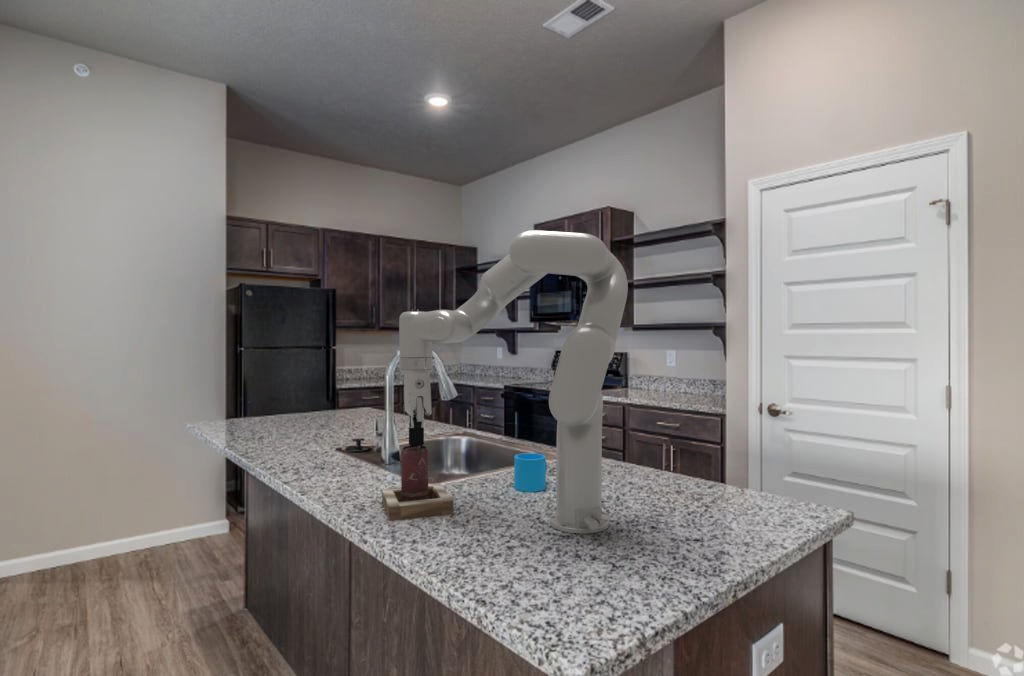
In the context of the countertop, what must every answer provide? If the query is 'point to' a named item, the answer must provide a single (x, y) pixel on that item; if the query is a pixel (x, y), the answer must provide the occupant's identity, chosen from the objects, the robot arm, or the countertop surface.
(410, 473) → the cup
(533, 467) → the mug
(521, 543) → the countertop surface
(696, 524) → the countertop surface
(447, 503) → the socket block
